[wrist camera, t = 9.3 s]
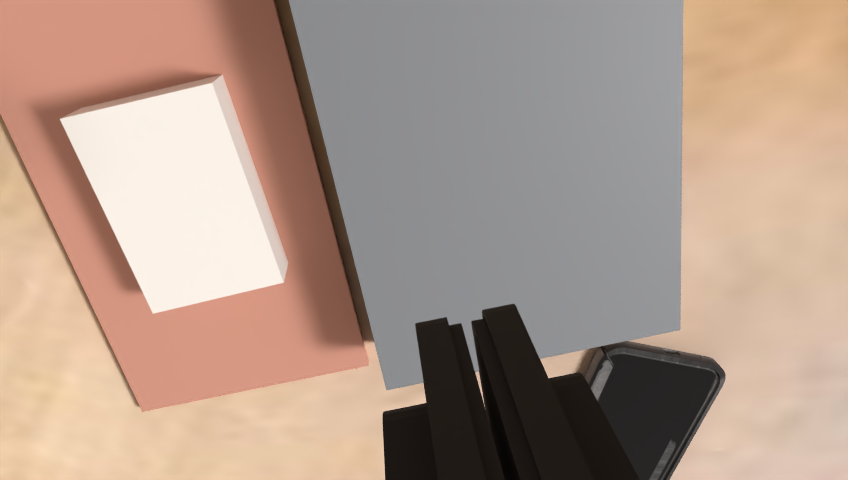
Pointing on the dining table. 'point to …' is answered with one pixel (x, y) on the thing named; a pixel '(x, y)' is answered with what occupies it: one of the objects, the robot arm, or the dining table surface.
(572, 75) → the grey block
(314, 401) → the dining table surface
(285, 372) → the terracotta mat
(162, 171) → the cream block
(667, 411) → the phone
